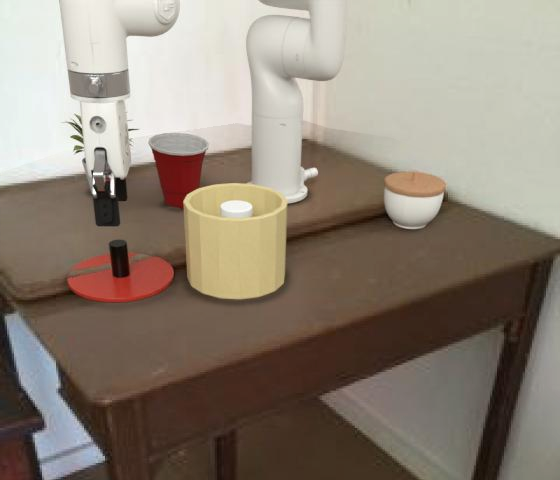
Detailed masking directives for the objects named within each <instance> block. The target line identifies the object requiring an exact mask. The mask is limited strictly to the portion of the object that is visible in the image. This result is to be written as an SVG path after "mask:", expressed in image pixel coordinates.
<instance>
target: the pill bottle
mask: <svg viewBox="0 0 560 480" xmlns="http://www.w3.org/2000/svg"><path fill="white" fill-rule="evenodd" d="M252 214H253V208H252V205H251V204H250V203H248V202H245V201H240V200H233V201H227V202H224V203H222V204H221V205H220V215H221V217H227V218H247V217H252Z"/></svg>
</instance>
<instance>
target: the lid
mask: <svg viewBox="0 0 560 480" xmlns="http://www.w3.org/2000/svg"><path fill="white" fill-rule="evenodd" d="M108 248H109V249H108V250H109V253H106V254H100V255H97V256H93V257H91V258H88V259H86V260H83V261H81V262H79V263H78V264H76V265H75V266H74V267H72V268H71V270H75V269H78V268H79V269H81V268H82V269H83V268H85V269H86V268H87V267H92V266H93V267H95V266H97V267H98V266H100V265H105V263H107V264H108V263H111V267H112V269H110V270H105V271H101V272H100V271H99V272H97V273H91V274H86V275H82V276H81V275H80V276H77V277H73V278H72V277H71V278H68V279H67V281H66V282H67V286H68V288H69V289H70V290H71V292H73V293H74V294H75V295H77V296H79V297H81V298H84V299H87V300H91V301H95V302H101V303H127V302H134V301H140V300H144V299H148V298H150V297H153V296H155V295H159V294H160V293H162V292H164V291H165V290H166V289H168V288H169V287H170V286H171V285H172V283H173V281H174V279H175V271H174V268H173V266H172V265H171V264H170V263H169V262H168V261H167V260H164V258H161V257H158V256H156V255H153V256H154V257H151V258H148V259H146V260H145V259H144V260H142V261H141V260H140V261H139V262H134V263H131V264H129V259H130V258H131V257H132V256H133V257H134V255H135V256H136V255H137V254H138V253H139V254H141V253H142V252H129V249H128V242H127V240H125V239H113V240H110V241H109V242H108ZM155 256H156V257H155Z"/></svg>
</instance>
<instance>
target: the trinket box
mask: <svg viewBox="0 0 560 480" xmlns="http://www.w3.org/2000/svg"><path fill="white" fill-rule="evenodd" d="M383 185H384V186H383V206H384V209H385V212H386V214H387V216H388V217H389V218H390V220H392V223H393V225H395V226H396V227H399V228H402V229H408V230H420V229H423V228H425V227H426V226H427V224H429V223H430V222H431V221H433V220H434V219H435V217H436V216H437V215H438V213H439V211H440V209H441V206H442V203H443V200H444V196H445V195H444V194H445V191H446V186H447V183H446V182H445V180H444V179H442V178H441V177H439V176H436V175H433V174H431V173H426V172H421V171H418V170H414V171H399V172H392V173H389V174H388V175H386V176H385V178H384V180H383Z"/></svg>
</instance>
